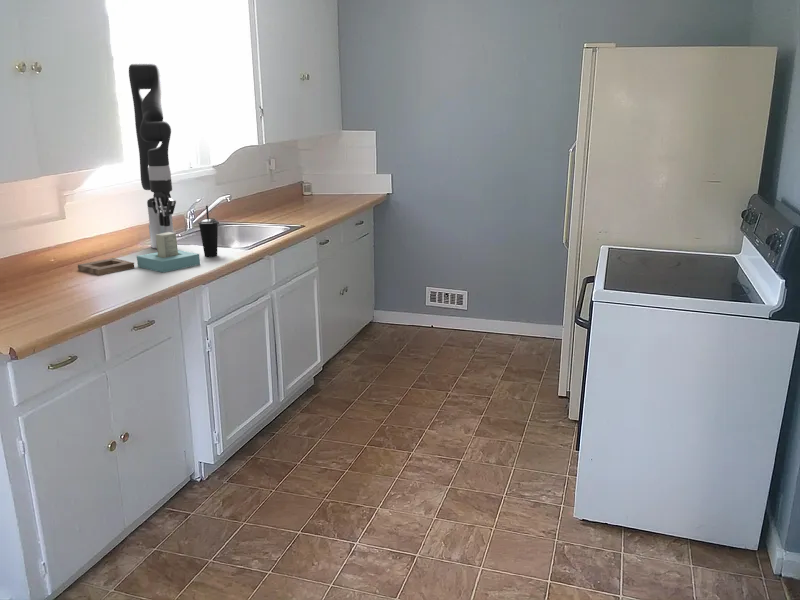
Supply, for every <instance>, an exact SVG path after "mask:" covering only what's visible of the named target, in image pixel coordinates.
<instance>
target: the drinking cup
mask: <svg viewBox="0 0 800 600" xmlns="http://www.w3.org/2000/svg"><path fill="white" fill-rule="evenodd" d="M205 210H206V218H204V219H201V220H200V221H198V222H197V224H198V226H199V232H200V236H201V243H202V248H203V254H204V257H205V258H215V257H217V256H218V239H219V237H218V235H219V234H218V232H219V231H218V230H219V229H218V228H219V227H218V225H219V221H218V220H215V218H214V219H213V218H210V214H209V205H205Z"/></svg>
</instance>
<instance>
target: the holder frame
mask: <svg viewBox="0 0 800 600" xmlns="http://www.w3.org/2000/svg"><path fill="white" fill-rule="evenodd" d="M130 269H135V262H132V261H127V260H123V259H119V258H116V257H115V258H114V257H111V258H106V259H102V260H96V261H89V262H85V263H80V264H77V270H78V271H80V272H84V273H89V274H92V275H97V276H103V275H106V274H112V273H116V272H121V271H127V270H130Z"/></svg>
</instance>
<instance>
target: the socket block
mask: <svg viewBox="0 0 800 600" xmlns="http://www.w3.org/2000/svg"><path fill="white" fill-rule="evenodd" d="M200 261H201V259H200V253H196V252H192V251H184V250H180V249H178V255H176V256H171V257H166V258H160V257H158V252H152V253H146V254H140V255H136V262H137V267H138V268H142V269H147V270H151V271H154V272H160V273H166V272H172V271H176V270H181V269H185V268H190V267H195V266H198V265H201V262H200Z"/></svg>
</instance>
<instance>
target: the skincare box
mask: <svg viewBox="0 0 800 600" xmlns="http://www.w3.org/2000/svg"><path fill="white" fill-rule="evenodd" d="M173 232H174V231H173ZM173 232H166V233H161V234H156V243H157V249H156V250H157V252H158V257H160V258H166V257H171V256H176V255H178V250H179V248H178V241H177V240H178V238H177V233H176V232H174V233H173Z"/></svg>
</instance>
